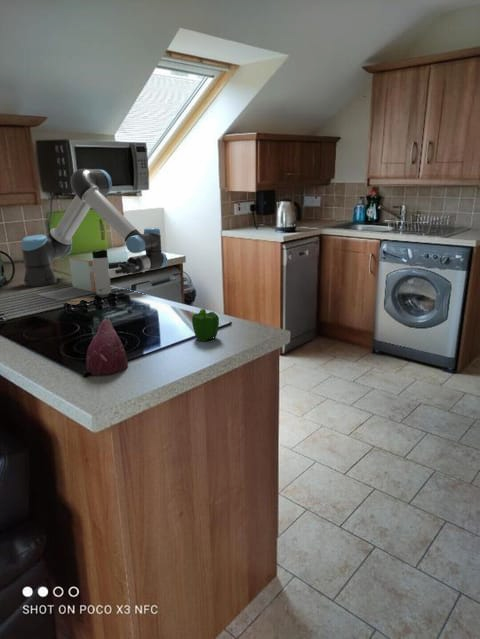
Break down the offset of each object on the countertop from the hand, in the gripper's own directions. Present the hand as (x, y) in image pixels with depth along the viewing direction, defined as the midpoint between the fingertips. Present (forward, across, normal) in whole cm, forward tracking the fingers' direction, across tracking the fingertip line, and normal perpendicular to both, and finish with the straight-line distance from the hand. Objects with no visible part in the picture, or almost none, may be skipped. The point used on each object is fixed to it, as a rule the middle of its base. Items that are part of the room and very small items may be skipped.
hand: (98, 271), depth 199 cm
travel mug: (-2, 0, -11) cm, 11 cm away
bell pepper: (+15, -77, -11) cm, 79 cm away
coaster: (+12, -4, -11) cm, 17 cm away
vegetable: (+48, -73, -11) cm, 88 cm away
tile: (-1, +16, -10) cm, 19 cm away
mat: (+5, +16, -11) cm, 20 cm away
